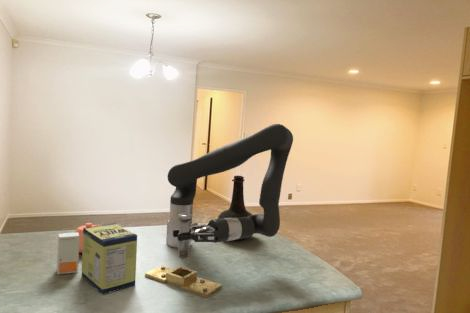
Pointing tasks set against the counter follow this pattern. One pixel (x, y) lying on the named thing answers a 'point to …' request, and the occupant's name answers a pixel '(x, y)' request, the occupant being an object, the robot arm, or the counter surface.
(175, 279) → the hinge leaves
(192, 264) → the counter surface
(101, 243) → the protein box
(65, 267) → the skincare box
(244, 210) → the glass bottle
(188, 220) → the hinge pin
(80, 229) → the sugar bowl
